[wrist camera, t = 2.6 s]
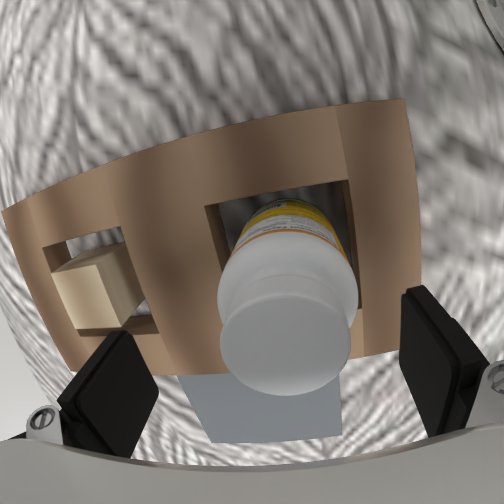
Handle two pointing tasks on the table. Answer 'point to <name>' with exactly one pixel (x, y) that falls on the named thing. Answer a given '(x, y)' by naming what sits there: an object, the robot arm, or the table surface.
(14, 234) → the puzzle board
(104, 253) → the maple block
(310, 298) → the supplement bottle
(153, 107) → the table surface
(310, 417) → the rubber mat
